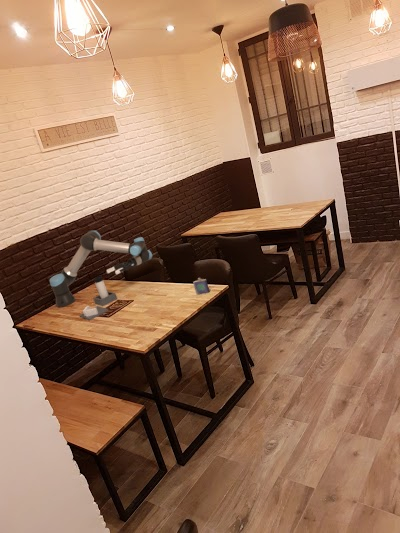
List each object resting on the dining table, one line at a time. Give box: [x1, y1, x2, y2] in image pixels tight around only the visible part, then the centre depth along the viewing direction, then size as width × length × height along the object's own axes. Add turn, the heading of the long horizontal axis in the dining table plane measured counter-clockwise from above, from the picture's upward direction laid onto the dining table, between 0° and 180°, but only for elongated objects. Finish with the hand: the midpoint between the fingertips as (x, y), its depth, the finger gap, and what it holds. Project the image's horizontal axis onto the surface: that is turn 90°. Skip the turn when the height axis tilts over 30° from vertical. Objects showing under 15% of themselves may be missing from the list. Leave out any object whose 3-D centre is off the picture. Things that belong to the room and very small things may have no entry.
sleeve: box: [93, 290, 118, 307], centre depth 302 cm, size 12×12×5 cm
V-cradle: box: [79, 305, 109, 322], centre depth 283 cm, size 16×15×5 cm
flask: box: [192, 277, 210, 295], centre depth 264 cm, size 9×3×11 cm, turn 76°
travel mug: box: [93, 275, 109, 299], centre depth 300 cm, size 6×7×20 cm
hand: (111, 272), depth 303 cm, fingers open, 13 cm apart
